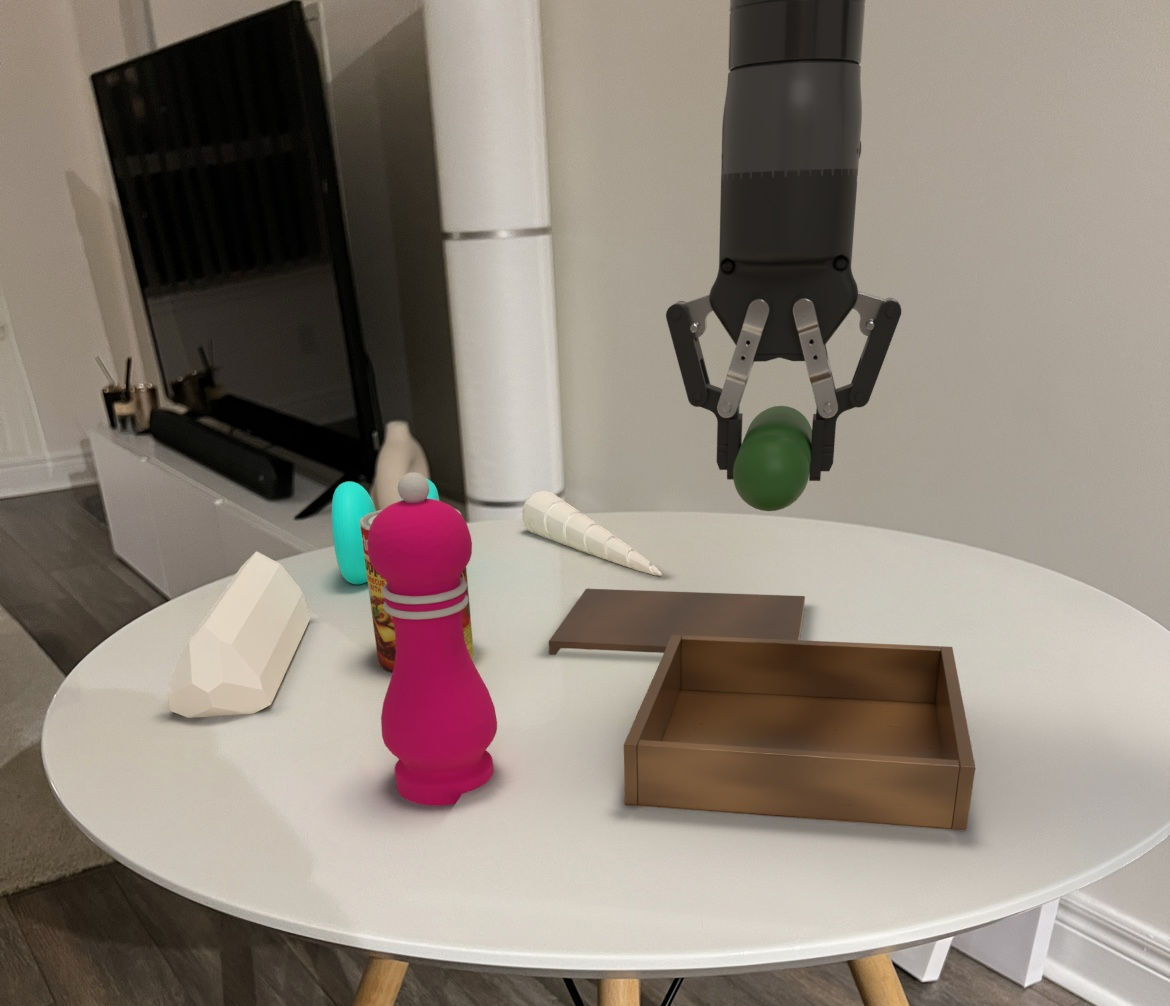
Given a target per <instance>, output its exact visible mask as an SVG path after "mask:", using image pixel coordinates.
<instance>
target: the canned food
mask: <svg viewBox="0 0 1170 1006" xmlns="http://www.w3.org/2000/svg"><path fill="white" fill-rule="evenodd" d="M383 509H384V508H383ZM383 509H379V510H375V512H372V513H369V514H367V515H365V516H363V517H362V518H361V520H360V527H361V535H362V542H363V550H364V558H365V565H366V573H367V580H368V582H367V586H368V594H369V596H368V597H369V602H370V603H369V604H370V610H371V617H372V625H373V634H374V641H375V648H376V655H377V663H378V666H379V667H380V668H381V669H382V670H383V671H385V672H388V673H390V674H392V672H393V669H394V664H395V656H396V641H395V629H394V624H393V619H392V615H390V614H388V613H387V612H386V611H385V610H384V602H385V597H384V596H383V595H382V588H383V586H384V585H385V584H386V583H387V582H386V581H385V580H384V579H383V578H382V577H381V576H380V575H379V574H378V573H377V572H376V570H375V569H374V568H373V566H372V565H371V563H370V560H369V555H368V547H367V541H368V533H369V529H370V526H371V524H372V522H373V520H374V518H375V517H376V516H377V515H378V514H379V513H380V512H381V511H382V510H383ZM454 509H455V510H456V511H457V512H459V513H460V514H461V516H462V515H463V514H462V513H461V511H460V510H459V509H456V508H454ZM462 517H463V516H462ZM460 577H461V578H463V579H464V580H465V581H466V583H467V588H466V590H465V591H466V595H467V597H468V604H467V605H466V607H465V608H464V609H462V626H463V632H464V638H465V643H466V646H467V649H468V652H469V654H470V657H471V659H472V660H473V658H474V655H475V653H474V652H475V651H474V641H473V639H474V638H473V628H472V627H473V626H472V618H471V607H470V594H469V584H468V582H469V581H468V573H467V566H466V567H465V569H464V570H463V572H462V573H461V576H460Z"/></svg>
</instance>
